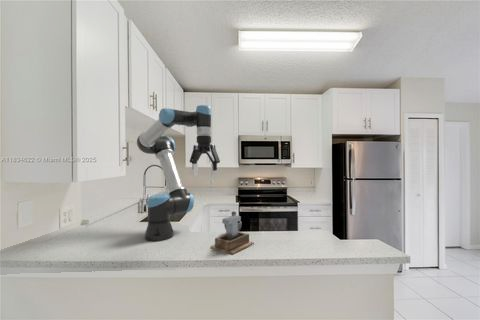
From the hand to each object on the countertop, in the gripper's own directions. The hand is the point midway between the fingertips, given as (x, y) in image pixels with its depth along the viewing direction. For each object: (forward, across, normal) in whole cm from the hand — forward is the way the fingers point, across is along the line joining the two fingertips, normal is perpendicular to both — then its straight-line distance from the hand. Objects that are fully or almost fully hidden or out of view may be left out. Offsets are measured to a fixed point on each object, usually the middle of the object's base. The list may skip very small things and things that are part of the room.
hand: (204, 176), depth 126 cm
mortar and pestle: (+34, +6, +17) cm, 38 cm away
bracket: (+32, +18, +1) cm, 37 cm away
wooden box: (+33, +18, +1) cm, 37 cm away
